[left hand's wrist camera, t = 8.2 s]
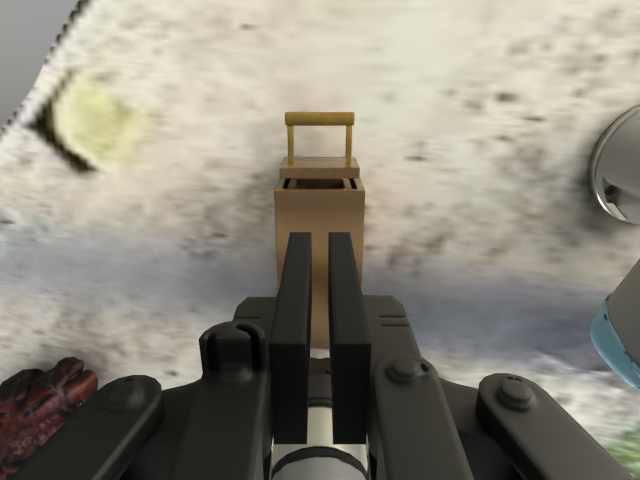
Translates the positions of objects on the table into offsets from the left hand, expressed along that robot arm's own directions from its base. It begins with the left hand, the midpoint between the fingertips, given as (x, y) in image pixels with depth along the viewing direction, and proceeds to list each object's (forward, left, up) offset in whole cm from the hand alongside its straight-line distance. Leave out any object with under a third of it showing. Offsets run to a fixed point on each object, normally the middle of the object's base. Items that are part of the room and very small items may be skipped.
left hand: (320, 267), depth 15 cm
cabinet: (+14, +5, -38) cm, 41 cm away
